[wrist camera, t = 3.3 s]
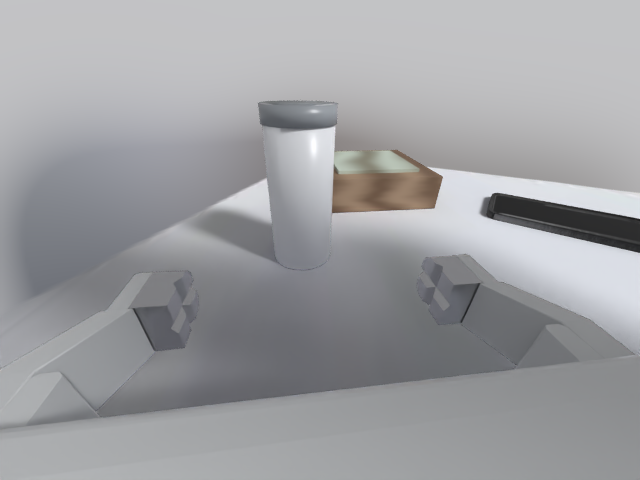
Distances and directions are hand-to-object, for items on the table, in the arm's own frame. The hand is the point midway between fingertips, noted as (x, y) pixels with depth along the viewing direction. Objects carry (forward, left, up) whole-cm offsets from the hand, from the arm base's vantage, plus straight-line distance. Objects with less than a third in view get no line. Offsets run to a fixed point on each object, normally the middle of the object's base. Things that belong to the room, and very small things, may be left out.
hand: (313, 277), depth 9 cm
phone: (-30, -15, -8) cm, 35 cm away
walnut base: (-10, -27, -7) cm, 30 cm away
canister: (0, -12, -7) cm, 14 cm away
